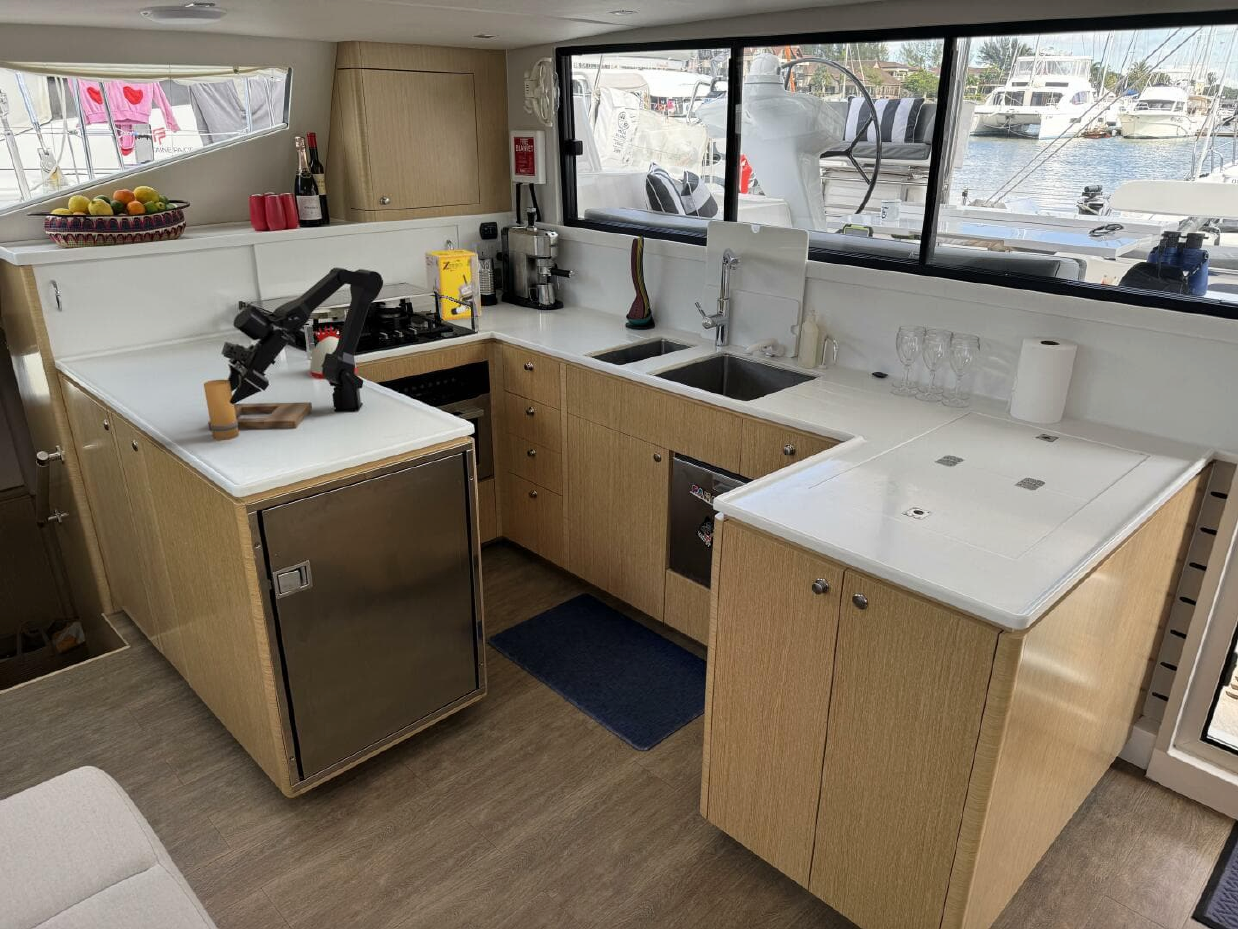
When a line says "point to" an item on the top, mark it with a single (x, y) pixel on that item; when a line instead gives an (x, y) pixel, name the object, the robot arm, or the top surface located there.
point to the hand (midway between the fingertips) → (227, 398)
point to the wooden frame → (271, 415)
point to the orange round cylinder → (221, 409)
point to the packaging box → (454, 281)
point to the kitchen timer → (323, 351)
